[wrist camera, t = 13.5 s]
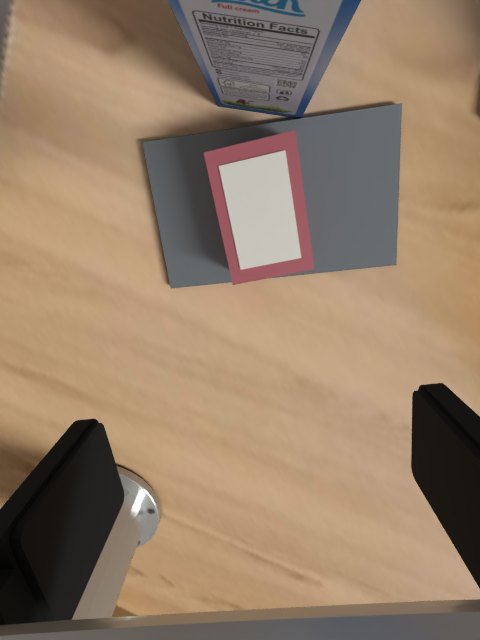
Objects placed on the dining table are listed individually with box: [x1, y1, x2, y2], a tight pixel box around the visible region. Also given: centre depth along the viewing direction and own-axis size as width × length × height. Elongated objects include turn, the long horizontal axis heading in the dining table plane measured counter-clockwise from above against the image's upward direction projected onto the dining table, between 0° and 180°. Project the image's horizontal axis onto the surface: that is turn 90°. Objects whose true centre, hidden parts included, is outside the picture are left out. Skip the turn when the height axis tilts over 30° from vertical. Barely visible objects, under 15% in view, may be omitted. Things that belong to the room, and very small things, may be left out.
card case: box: [204, 130, 314, 285], centre depth 25 cm, size 9×6×4 cm, turn 12°
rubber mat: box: [142, 103, 402, 288], centre depth 27 cm, size 19×12×1 cm, turn 97°
